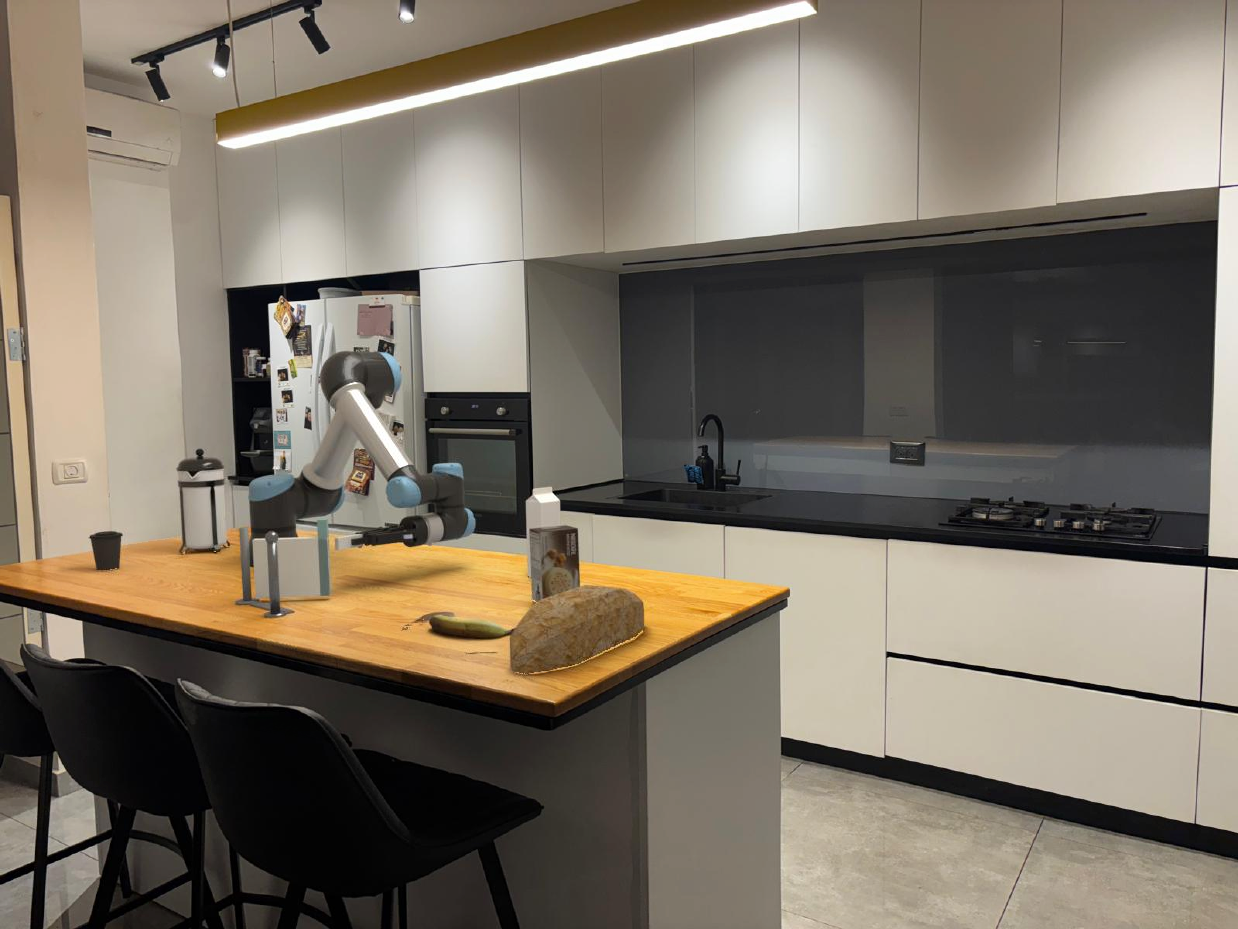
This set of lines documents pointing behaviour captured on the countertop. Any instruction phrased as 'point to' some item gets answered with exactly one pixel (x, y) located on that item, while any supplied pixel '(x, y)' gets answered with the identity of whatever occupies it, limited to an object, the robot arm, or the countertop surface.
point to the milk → (541, 514)
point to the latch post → (273, 575)
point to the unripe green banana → (462, 627)
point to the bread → (574, 627)
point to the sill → (259, 604)
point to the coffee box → (554, 560)
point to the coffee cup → (106, 549)
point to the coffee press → (202, 503)
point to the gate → (289, 565)
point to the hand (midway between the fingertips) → (336, 543)
